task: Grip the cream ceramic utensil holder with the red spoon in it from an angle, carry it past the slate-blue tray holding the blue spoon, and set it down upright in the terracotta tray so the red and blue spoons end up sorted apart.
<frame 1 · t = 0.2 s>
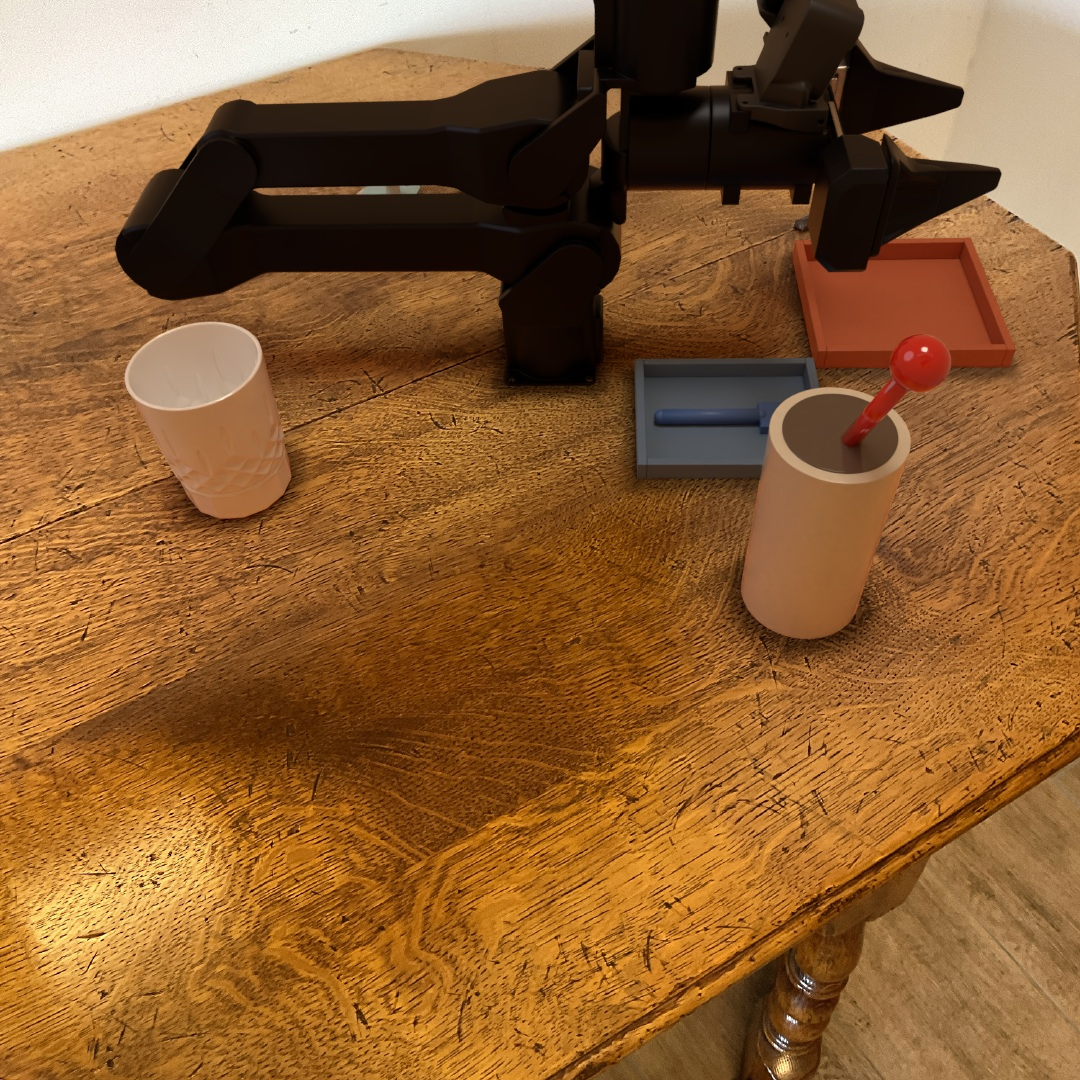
hand: (979, 135, 58), 17 cm above the table, tool horizontal, fingers open, 9 cm apart
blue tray: (726, 427, 67), on the table
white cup: (241, 483, 66), on the table
red spoon holder: (798, 595, 58), on the table
terracotta tray: (892, 313, 74), on the table
pacifier: (385, 211, 86), on the table
blue spoon: (727, 421, 66), resting on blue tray
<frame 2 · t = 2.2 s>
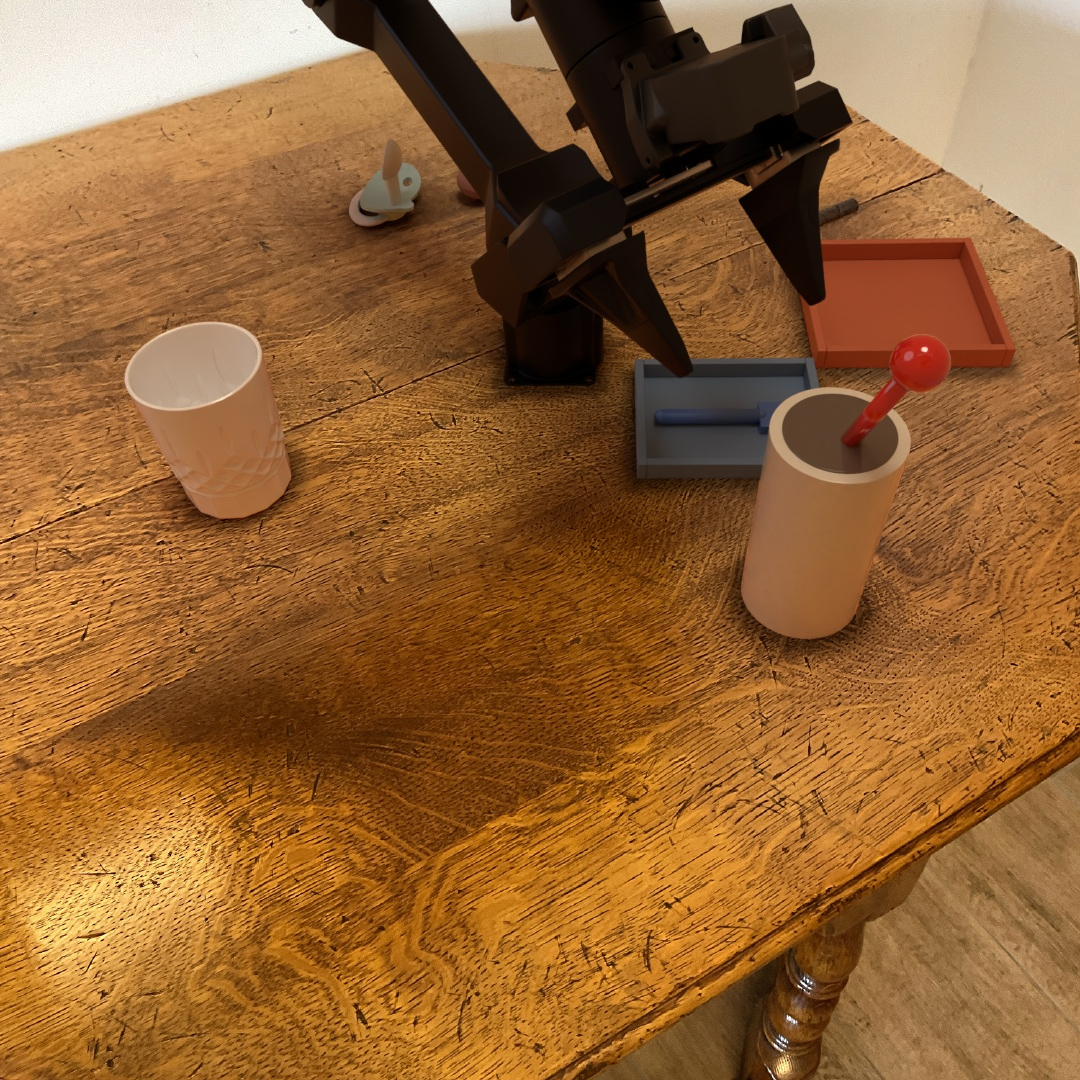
hand: (754, 338, 51), 14 cm above the table, tool tilted 45°, fingers open, 9 cm apart
nothing on the table moved.
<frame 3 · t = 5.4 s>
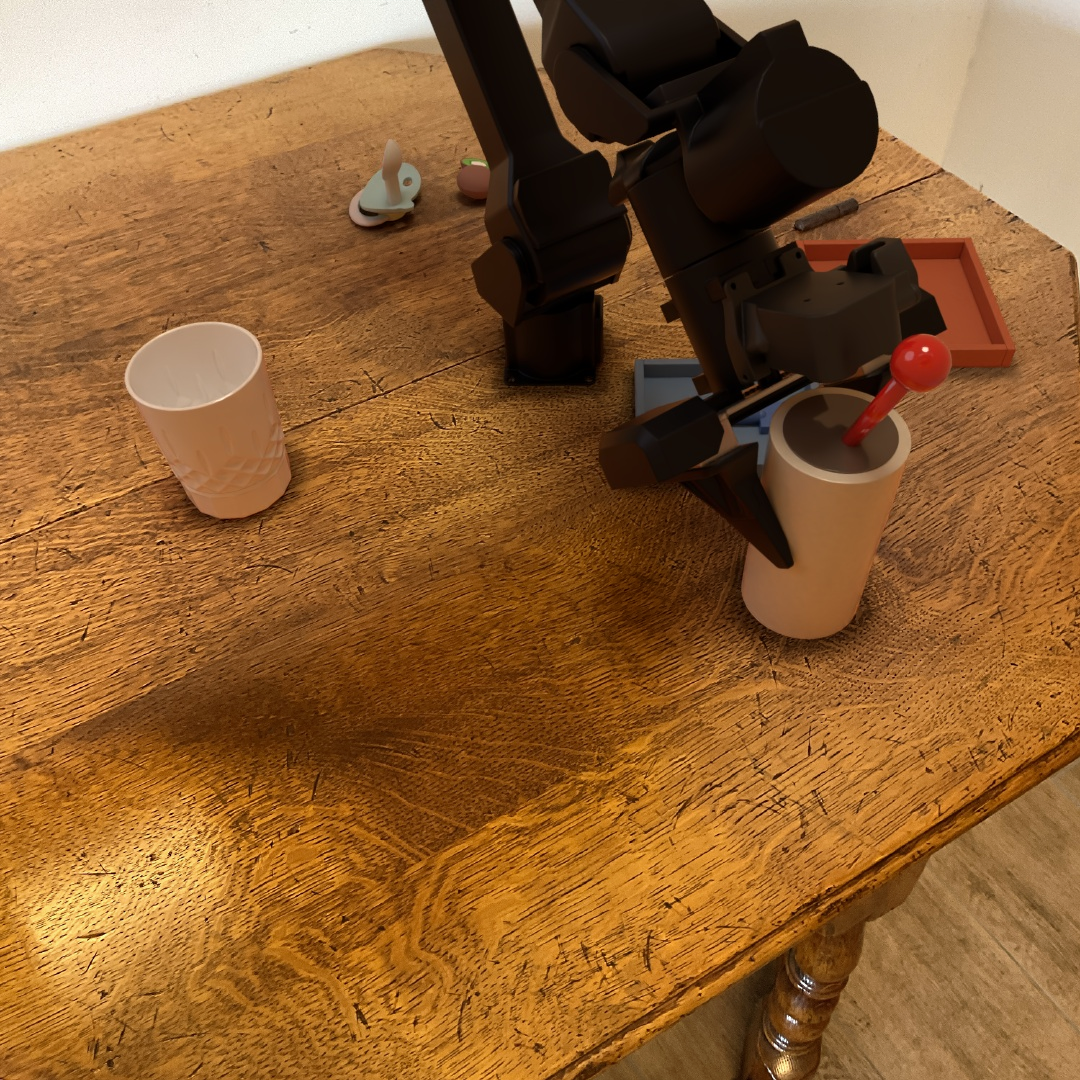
hand: (836, 537, 52), 7 cm above the table, tool tilted 45°, fingers closed on red spoon holder, 6 cm apart
red spoon holder: (798, 595, 58), on the table, touching gripper
everything else where it was.
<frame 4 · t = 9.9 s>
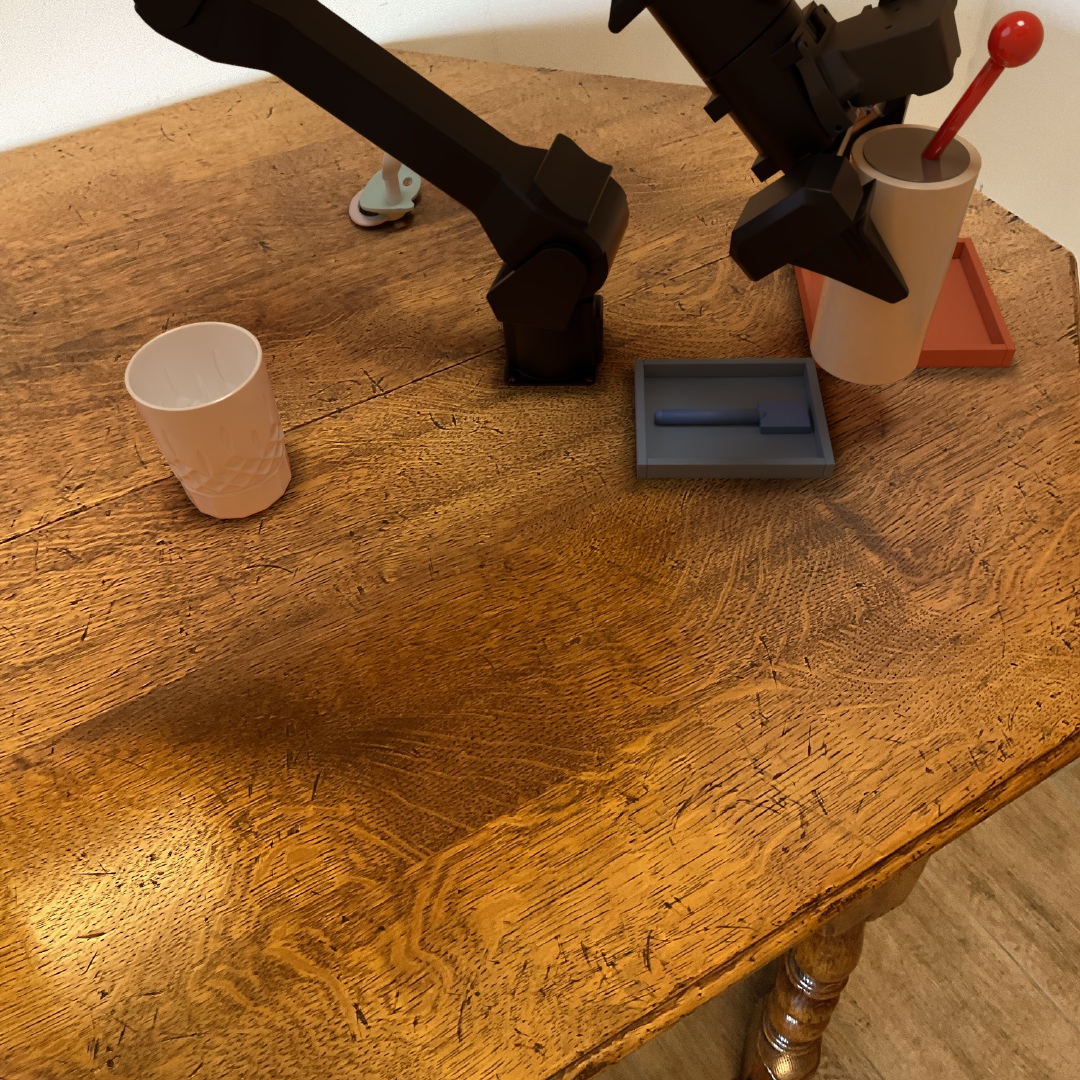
hand: (912, 264, 57), 12 cm above the table, tool tilted 45°, fingers closed on red spoon holder, 6 cm apart
red spoon holder: (863, 350, 62), point 6 cm above the table, touching gripper
everything else where it was.
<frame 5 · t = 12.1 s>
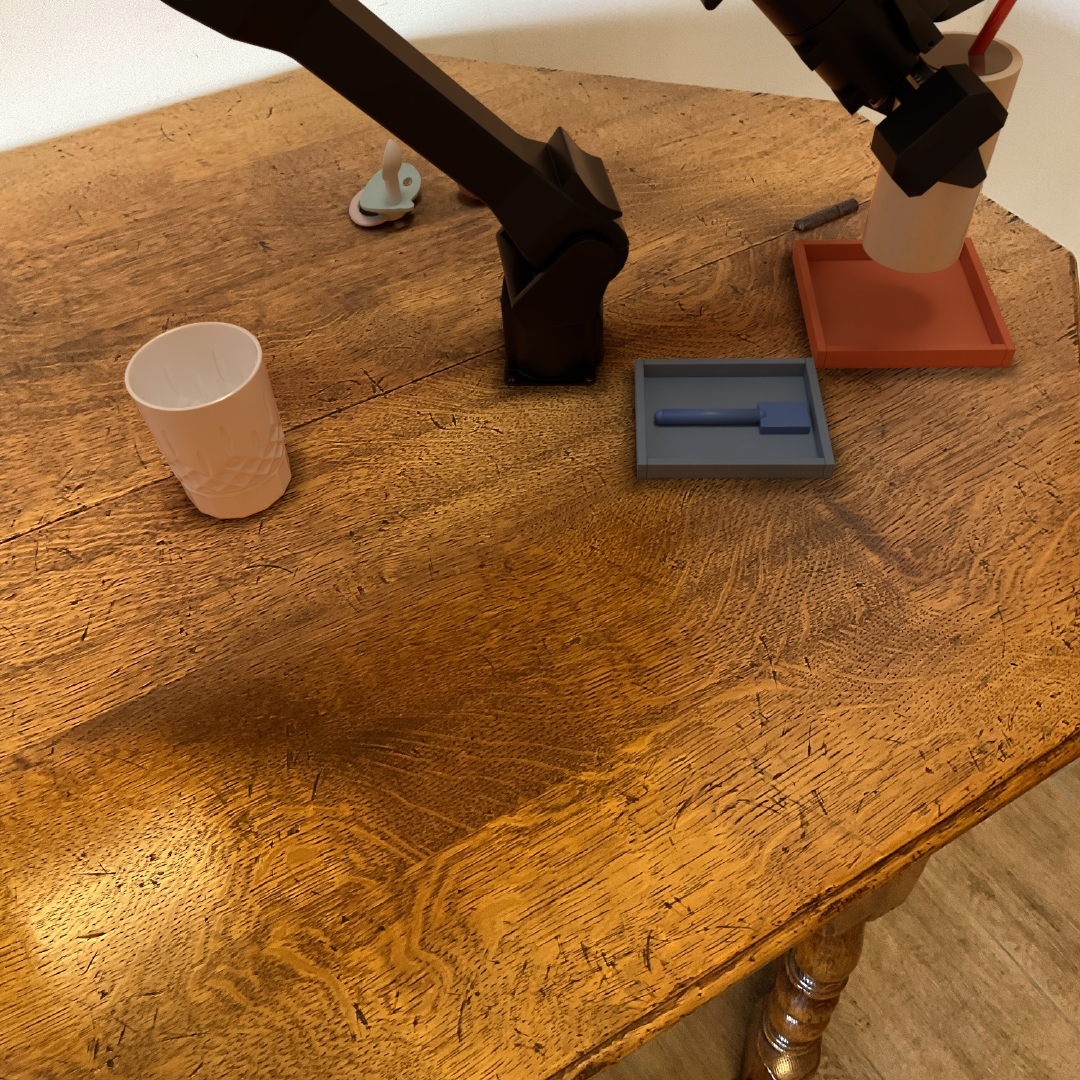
hand: (956, 153, 64), 12 cm above the table, tool tilted 45°, fingers closed on red spoon holder, 6 cm apart
red spoon holder: (910, 245, 69), point 6 cm above the table, touching gripper
everything else where it was.
when the fingers open (7 cm above the table, at t = 14.2 s): red spoon holder stays where it is, point 1 cm above the table.
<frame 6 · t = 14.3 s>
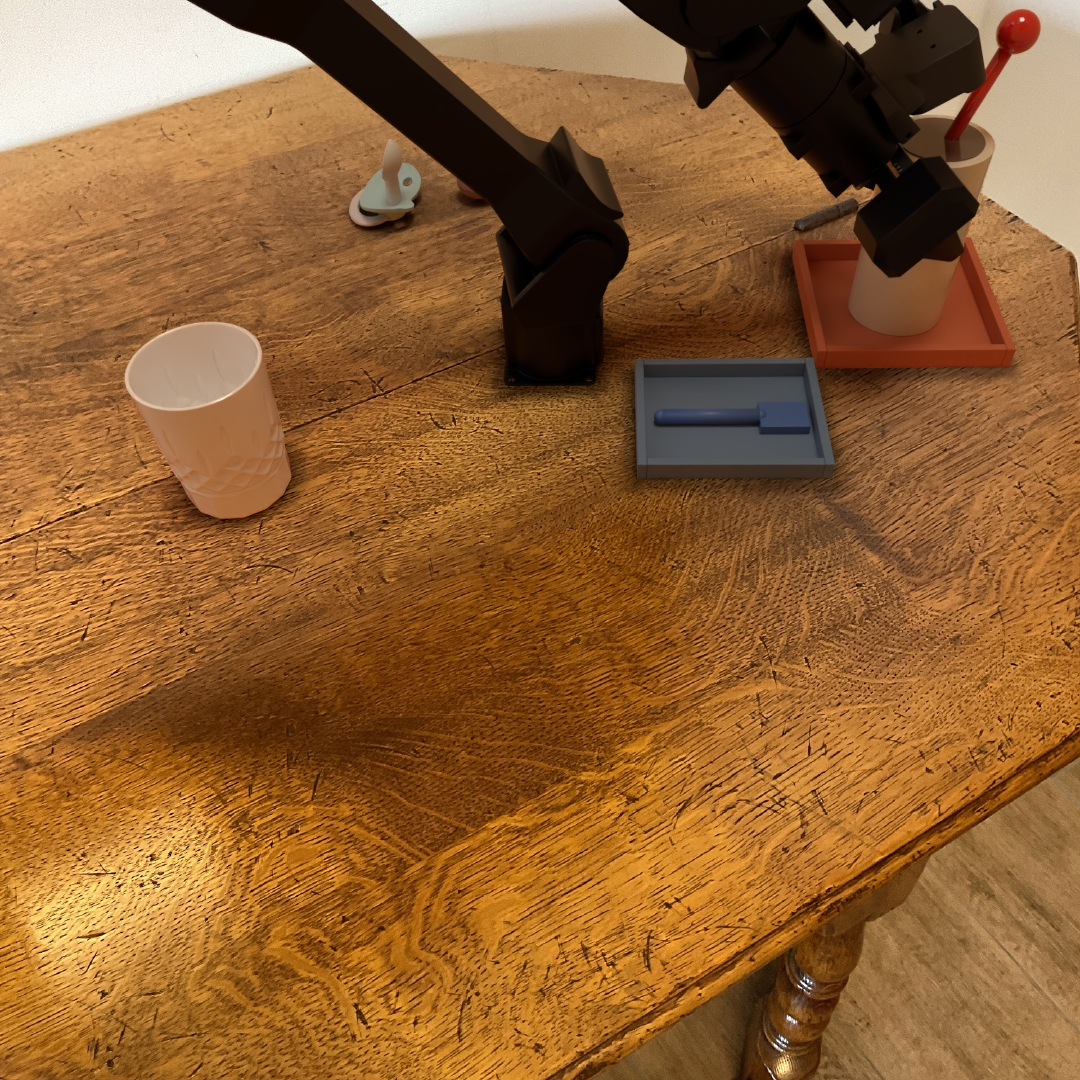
hand: (935, 226, 68), 7 cm above the table, tool tilted 45°, fingers open, 7 cm apart
red spoon holder: (894, 308, 73), point 1 cm above the table
everything else where it was.
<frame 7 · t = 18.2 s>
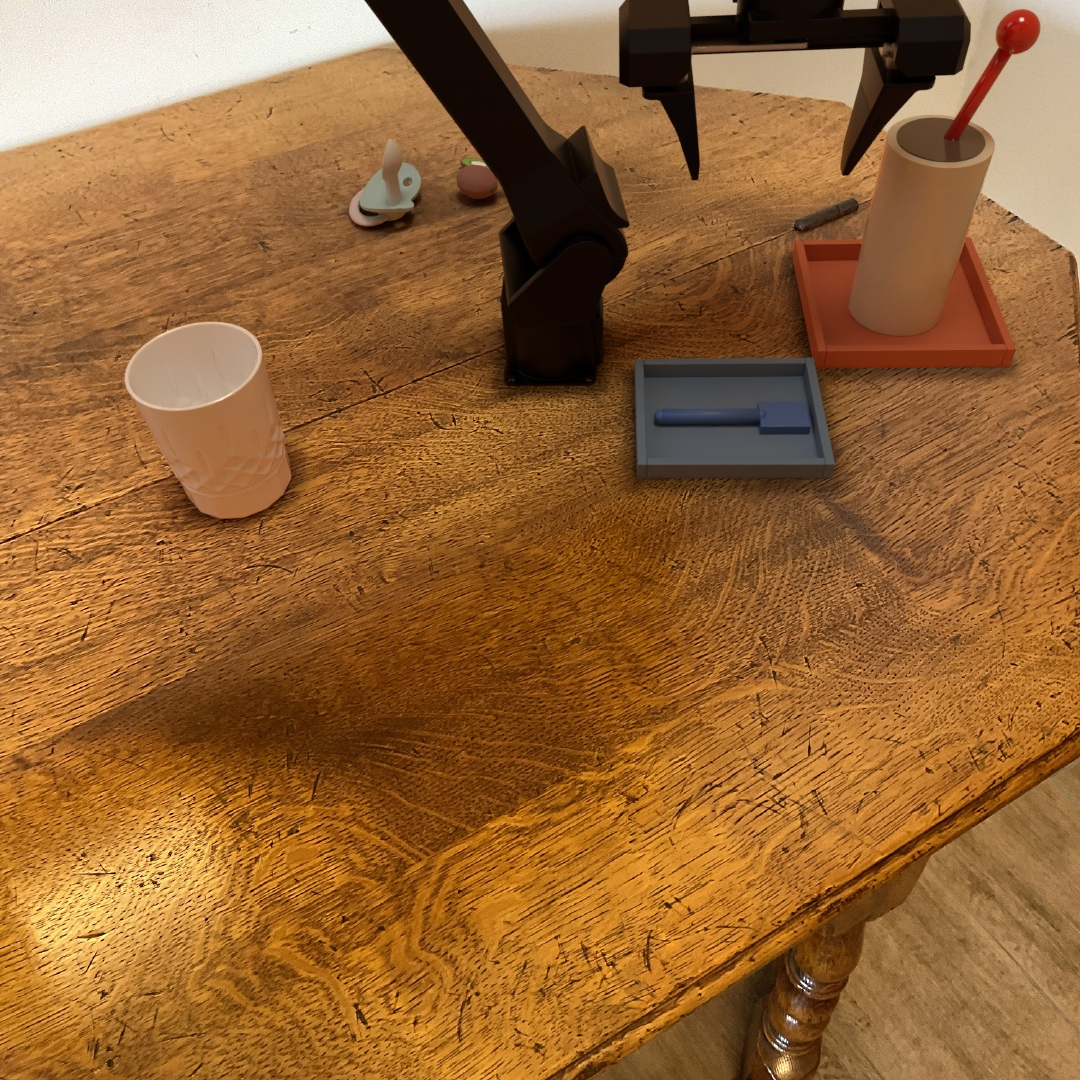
hand: (768, 174, 62), 13 cm above the table, tool pointing down, fingers open, 9 cm apart
red spoon holder: (894, 308, 73), resting on terracotta tray
everything else where it was.
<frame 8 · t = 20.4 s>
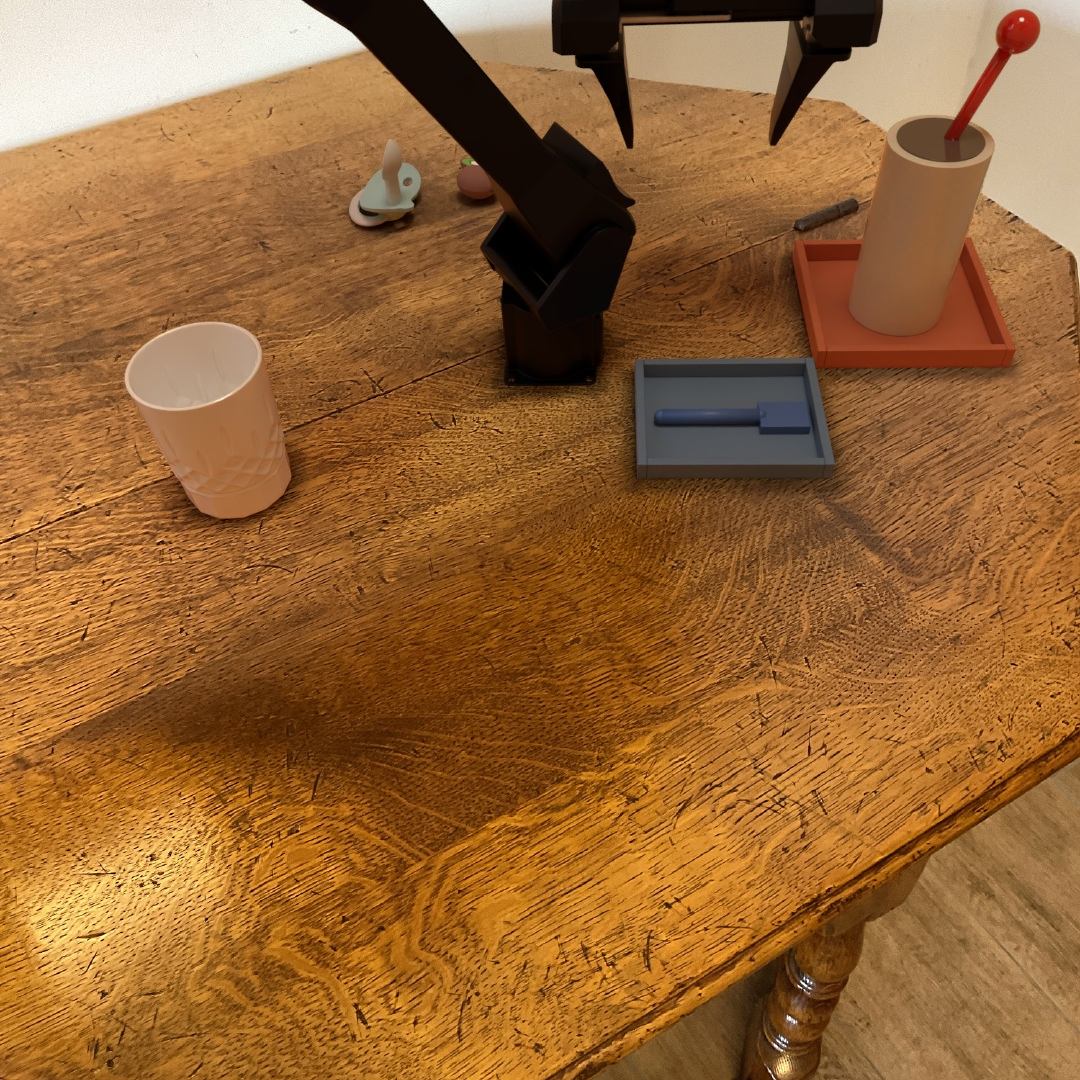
hand: (700, 144, 65), 13 cm above the table, tool pointing down, fingers open, 9 cm apart
nothing on the table moved.
at the end: red spoon holder inside the target area in the terracotta tray (0.0 cm from its centre), point 0.5 cm above the terracotta tray's base; red spoon holder tilted 0°; blue spoon moved 0.0 cm from its start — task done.
